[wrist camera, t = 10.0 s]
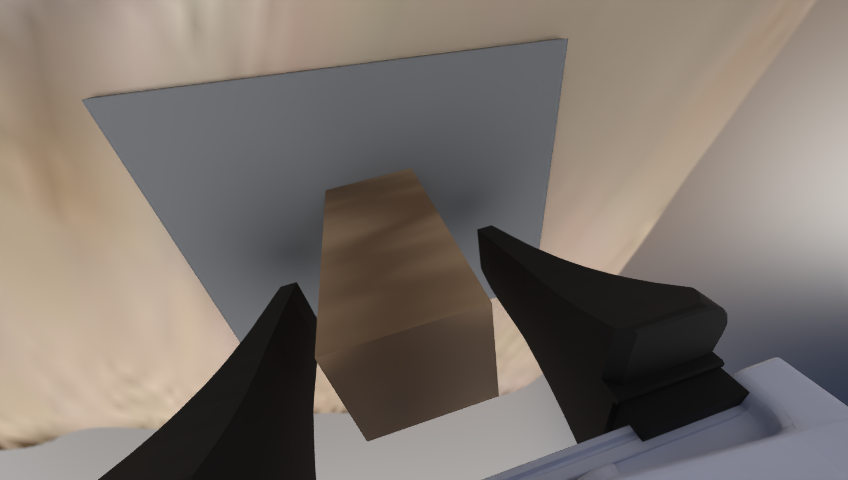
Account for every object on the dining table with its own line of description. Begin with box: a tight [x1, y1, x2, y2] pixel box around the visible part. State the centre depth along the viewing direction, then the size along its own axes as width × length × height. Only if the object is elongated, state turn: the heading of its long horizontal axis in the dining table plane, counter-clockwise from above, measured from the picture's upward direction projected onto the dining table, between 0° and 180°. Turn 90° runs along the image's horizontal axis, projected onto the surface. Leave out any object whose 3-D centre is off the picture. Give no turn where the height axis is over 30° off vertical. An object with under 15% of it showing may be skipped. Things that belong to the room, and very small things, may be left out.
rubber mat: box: [82, 39, 568, 343], centre depth 16 cm, size 18×14×1 cm
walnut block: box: [315, 168, 499, 441], centre depth 12 cm, size 4×4×9 cm
